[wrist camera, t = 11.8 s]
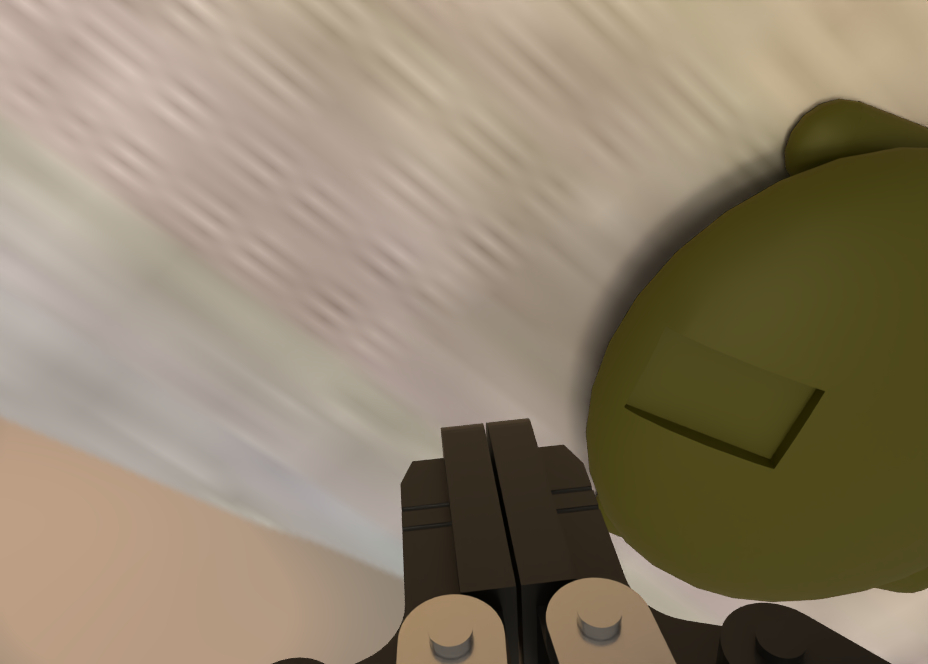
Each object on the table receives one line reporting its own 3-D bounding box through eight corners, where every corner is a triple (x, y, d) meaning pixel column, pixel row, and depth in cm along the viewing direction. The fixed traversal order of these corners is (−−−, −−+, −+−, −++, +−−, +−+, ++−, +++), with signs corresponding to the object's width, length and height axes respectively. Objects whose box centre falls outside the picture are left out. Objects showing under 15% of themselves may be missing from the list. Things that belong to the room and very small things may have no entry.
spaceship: (1198, 232, 47) (1379, 303, 39) (910, 582, 60) (997, 692, 52) (708, 43, 39) (801, 81, 30) (498, 497, 52) (522, 612, 44)
